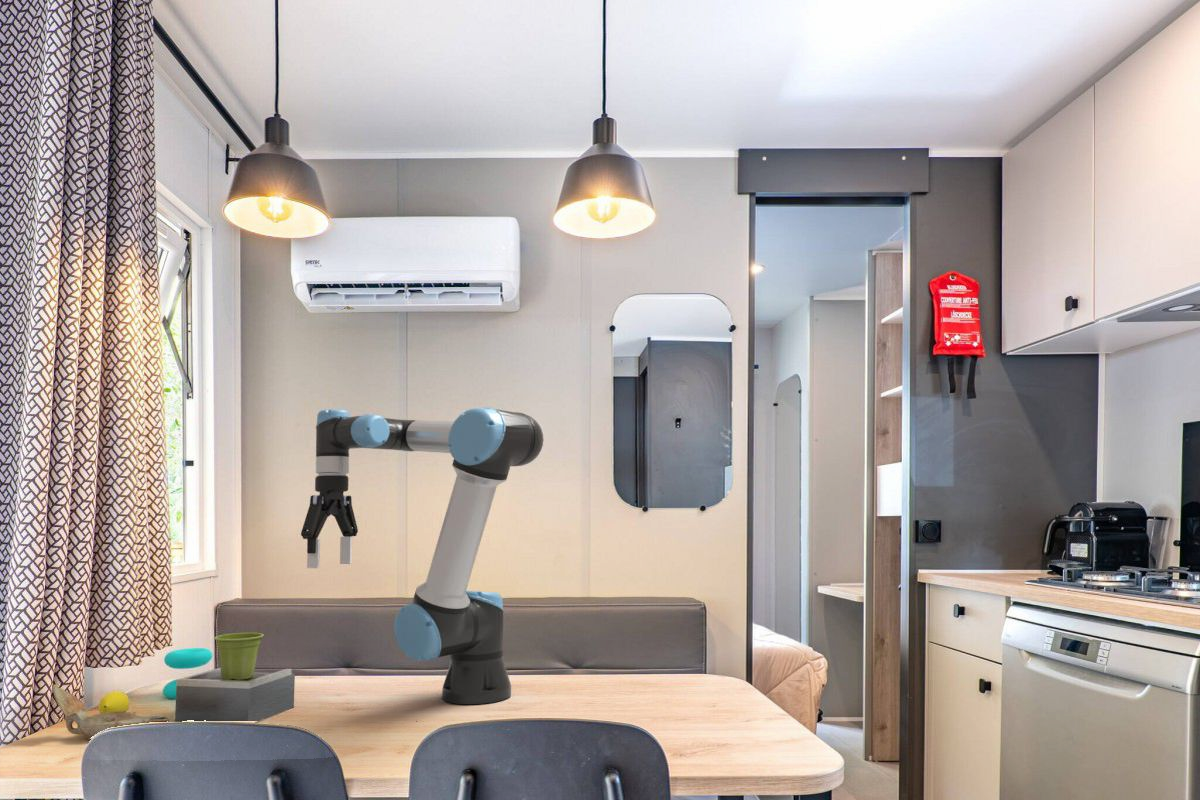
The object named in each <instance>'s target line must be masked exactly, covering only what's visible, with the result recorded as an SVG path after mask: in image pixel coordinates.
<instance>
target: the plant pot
mask: <svg viewBox="0 0 1200 800" xmlns="http://www.w3.org/2000/svg"><path fill="white" fill-rule="evenodd" d="M264 635H265V634H264V633H259V632H237V633H236V632H235V633H226V634H221V635H216V636H215V637H214V640H215V641H216V647H218V653H219V654H218V655H219V664H220V665H219V666H220V667H221V678H222V680H231V679H235V680H244V679H249V678H251V677H253V675H254V672H255V669H256V663H257V657H258V652H259V646H260V644H261V643H262V638H263V637H265V636H264ZM220 667H219V668H220Z"/></svg>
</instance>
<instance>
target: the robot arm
mask: <svg viewBox="0 0 1200 800" xmlns="http://www.w3.org/2000/svg"><path fill="white" fill-rule="evenodd" d="M315 429H316V430H315V431H316V432H315V433H316V434H315V435H316V436H315V438H316V440H315V442H316V443H315V473H316V475H315V479H314V480H315V481H314V490H315V492H317V493H318V494H316V495H315V494H314V495H313V494H312V495H310V499H309V507H308V509H307V513H306V516H305V519H304V522H303V526H302V528H301V532H300V536H301V537H302V539H303V540H306V541H307V542H306V543H307V544H306V547H307V548H306V552H307V554H306V555H307V556H306V557H307V558H306V568H307V569H320V568H321V566H320V565H321V563H320V562H321V539H320V538H319V536H320V534H321V532H322V530H323V528H324V525H325V524H326V521H327V519H328V517H330V516H333V517H334V519H335V520H336V521H335V522H336V523H337V525H338V527H339V530H340V532H341V534H342V536H340V538H339V539H340V541H339V542H340V543H339V544H340V546H339V549H340V550H339V551H340V553H339V565H352V560H353V558H352V557H353V555H352V554H353V551H352V550H353V537H356V536H357V535H358V533H359V529H358V525H357V521H356V516H355V513H354V509H353V508H354V507H353V505H352V504H353V502H352V496H351V495H345V494H344V492H348V491H349V476H348V475H347V474H349V473H350V464H349V463H350V461H349V460H350V453H349V451H350V450H351V449H371V450H372V449H374V450H390V451H392V450H393V451H404V452H423V453H424V452H426V453H440V454H450V455H451V457H452V458H453V461H452V464H451V465H452V468H453V469H454V472H455V474H456V477H455V479H454V484H453V487H452V491H451V494H450V498H449V501H448V504H447V508H446V512H445V514H444V519H443V521H442V525H441V527H440V528H441V529H440V531H439V534H438V535H439V536H438V539H437V542H436V545H435V548H434V553H433V556H432V559H431V563H430V565H429V566H430V567H429V570H428V573H427V577H426V581H424V583H421V584H420V585H418V586H417V587H416V589H415V593H414V595H413V598H412V602H411V603H406V604H405V605H404V606H403V607H401V608H400V609H399V610H398V612H397V614H396V616H395V618H394V619H395V620H394V635H395V639H396V641H397V643H398V647H399V649H400V650H401V651H402V653H404V655H405V656H407V657H408V658H410V659H412V660H413V661H418V662H419V661H420V662H421V661H422V662H423V661H432V660H436V659H437V658H442V657H446V656H450V662H449V665H448V670H447V673H446V676H445V678H444V682H443V685H442V688H441V689H442V690H441V692H442V695H441V699H442V700H443V701H444V702H446V703H450V704H457V705H480V704H481V705H482V704H488V703H489V704H490V703H496V702H500V701H504V700H506V699H509V698H510V697H511V696H512V684H511V681H510V676H509V674H508V672H507V671H508V670H507V667H506V665H505V662H504V603H503V597H502V594H500V593H498V592H496V591H495V592H494V591H480V590H479V591H478V590H475V591H474V590H467V588H468V585H469V582H470V578H471V575H472V571H473V569H474V565H475V563H476V562H475V561H476V559H477V558H476V557H477V554H478V551H479V547H480V545H481V542H482V538H483V535H484V531H485V528H486V525H487V521H488V517H489V514H490V511H491V508H492V503H493V501H494V498H495V494H496V490H497V487H498V486H499V485H501V484H503V483H504V482H506V481H507V480H508V476H509V472H510V468H511V467H521V466H526V465H528V464H530V463H532V462H533V461H534V460H536V458H537V457H538V456H539V455H540V453H541V451H542V449H543V447H544V446H543V445H544V433H543V429H542V427H541V426H540V424H539V423H538V422H537V420H535V419H534V418H533V417H532V416H530V415H528V414H525V413H522V412H516V411H515V412H514V411H508V410H502V409H497V408H496V409H495V408H491V407H483V408H482V407H473V408H469V409H468V410H465V411H464V412H462V413H461V414H460V415H459V416H458V417H457V418H456V419H455V420H454V421H453V420H450V421H449V420H446V421H445V420H418V419H417V420H415V419H400V418H398V419H397V418H388V417H383V416H381V415H379V414H368V413H367V414H363V415H356V416H350V412H349V411H348V410H345V409H332V408H331V409H323V410H320V411H318V413H317V419H316V426H315Z"/></svg>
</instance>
